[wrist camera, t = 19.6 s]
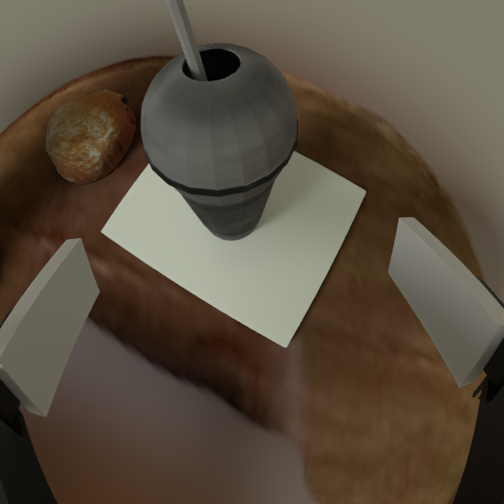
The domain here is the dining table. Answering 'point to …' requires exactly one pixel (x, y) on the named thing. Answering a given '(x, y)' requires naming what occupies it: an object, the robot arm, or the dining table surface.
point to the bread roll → (90, 136)
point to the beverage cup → (219, 129)
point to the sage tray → (245, 244)
